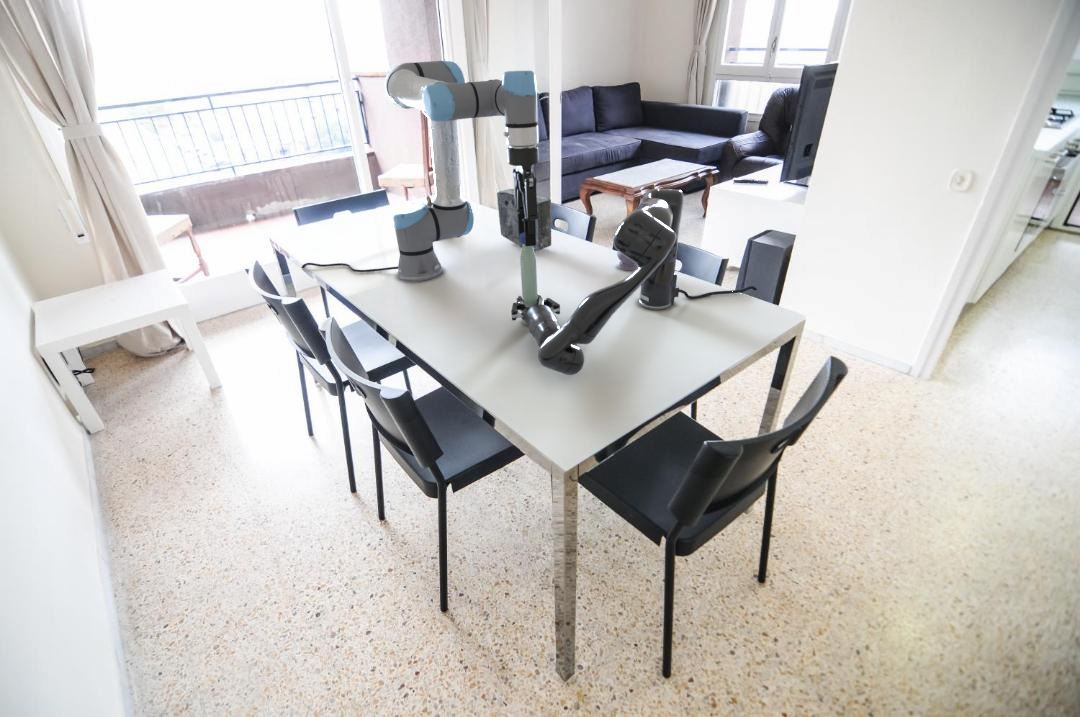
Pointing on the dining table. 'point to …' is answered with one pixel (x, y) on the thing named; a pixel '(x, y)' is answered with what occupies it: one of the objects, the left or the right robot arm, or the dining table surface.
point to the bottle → (528, 275)
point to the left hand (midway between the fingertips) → (527, 241)
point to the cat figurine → (626, 262)
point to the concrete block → (510, 219)
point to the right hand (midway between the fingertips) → (527, 298)
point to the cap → (522, 238)
